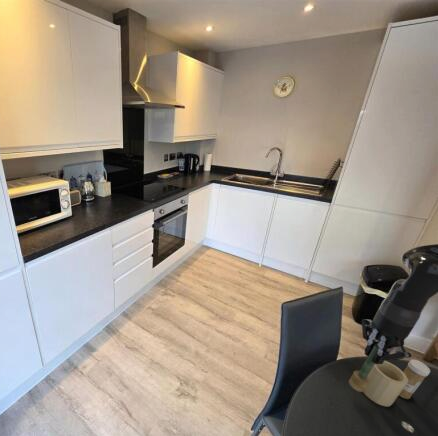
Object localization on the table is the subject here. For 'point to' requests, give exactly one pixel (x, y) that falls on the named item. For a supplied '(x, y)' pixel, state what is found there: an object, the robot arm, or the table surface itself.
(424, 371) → the sprinkles bottle
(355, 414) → the table surface
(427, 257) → the robot arm
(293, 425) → the table surface
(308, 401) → the table surface
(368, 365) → the brush
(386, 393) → the jar
